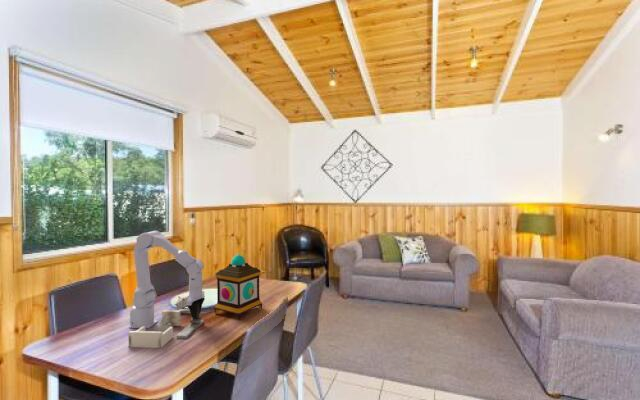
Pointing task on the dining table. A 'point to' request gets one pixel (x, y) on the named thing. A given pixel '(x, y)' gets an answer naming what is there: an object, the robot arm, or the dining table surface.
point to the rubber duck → (164, 324)
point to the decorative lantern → (238, 287)
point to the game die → (181, 302)
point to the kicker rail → (189, 330)
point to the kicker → (179, 316)
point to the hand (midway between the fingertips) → (195, 315)
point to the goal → (149, 338)
